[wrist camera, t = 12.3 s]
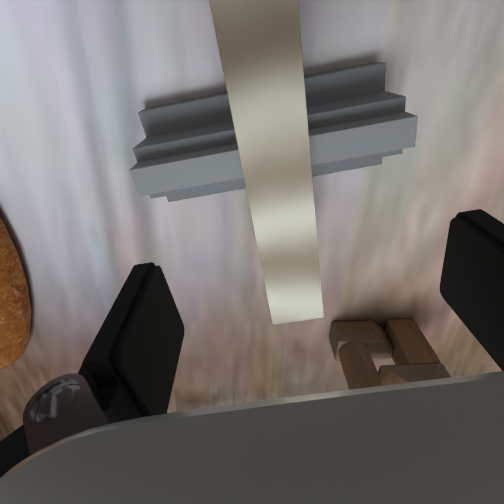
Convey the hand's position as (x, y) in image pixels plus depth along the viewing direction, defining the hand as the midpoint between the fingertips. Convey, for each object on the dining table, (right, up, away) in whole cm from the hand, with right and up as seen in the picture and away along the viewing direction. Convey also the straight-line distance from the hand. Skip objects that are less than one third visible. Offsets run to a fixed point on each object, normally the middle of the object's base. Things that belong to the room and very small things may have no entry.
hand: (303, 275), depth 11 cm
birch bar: (0, +8, +12) cm, 14 cm away
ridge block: (-1, +12, +19) cm, 22 cm away
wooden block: (+14, -9, +32) cm, 36 cm away
